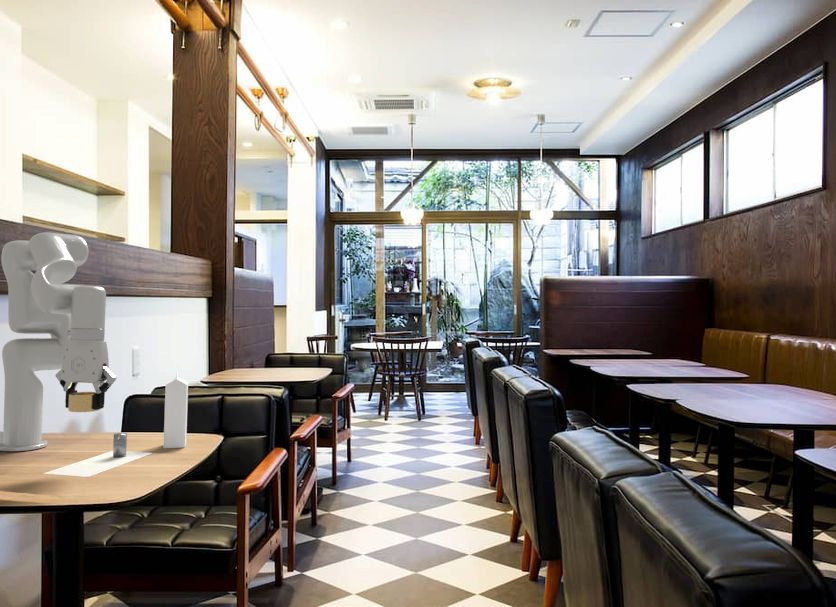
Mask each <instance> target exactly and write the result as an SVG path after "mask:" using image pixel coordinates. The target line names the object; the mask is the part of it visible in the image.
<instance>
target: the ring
mask: <svg viewBox="0 0 836 607" xmlns="http://www.w3.org/2000/svg"><path fill="white" fill-rule="evenodd" d="M94 393H96V391H77V392H75V393H70V394H69V406H68V408H67V409H68V412H70V413H71V412H72V413H91V412H97V411H100V410H101V409H98V410H94V409H93V394H94Z"/></svg>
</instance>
